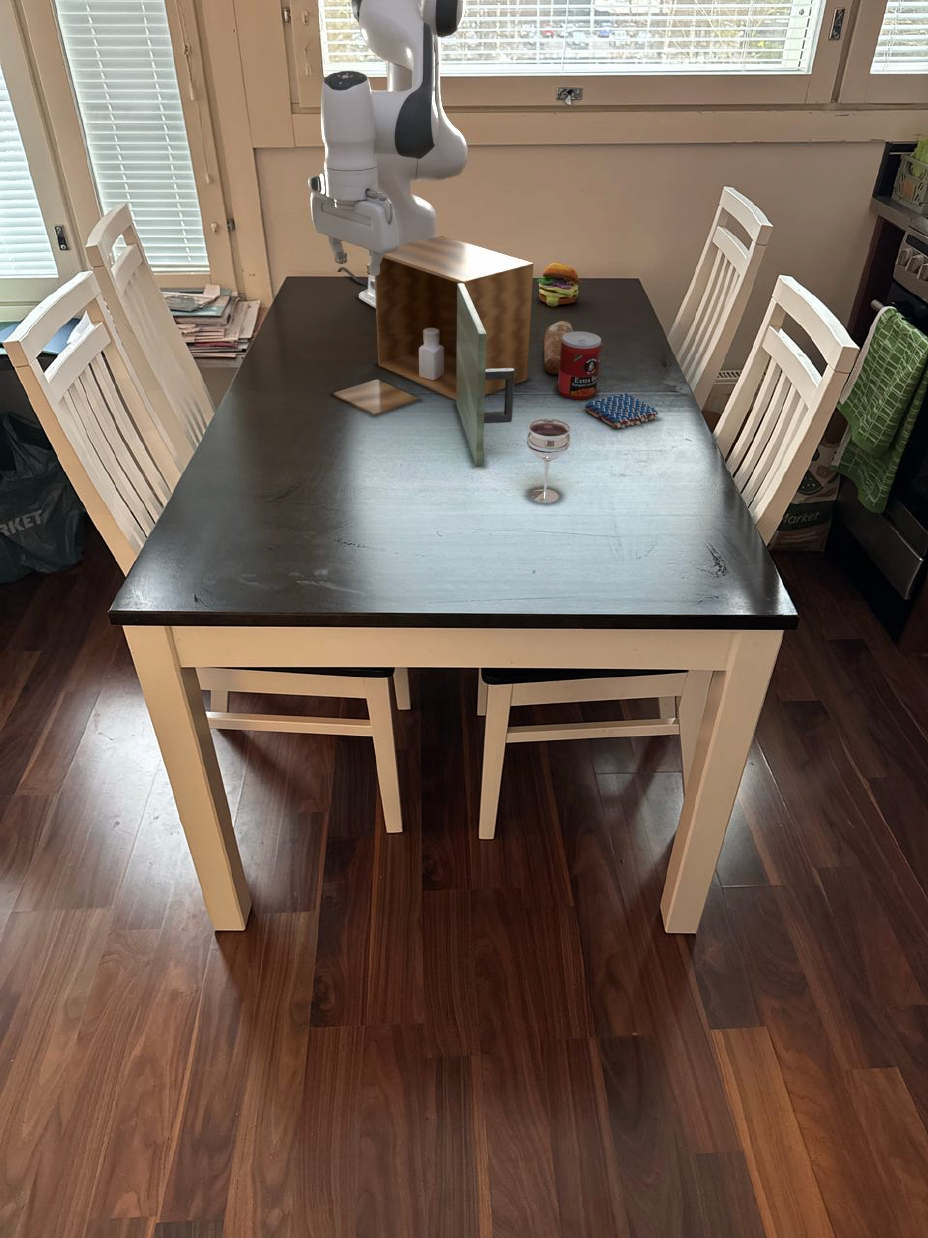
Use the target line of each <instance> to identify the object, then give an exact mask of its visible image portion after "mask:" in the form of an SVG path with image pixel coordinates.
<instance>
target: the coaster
mask: <svg viewBox="0 0 928 1238" xmlns="http://www.w3.org/2000/svg"><path fill="white" fill-rule="evenodd" d="M333 396H334V397H336V398H338V399H340V400H342V401H343V402H346V403H348V404H350V405H352V406H354V407H356V408H358V409H360V410H362V411H364V412H366V413H368V414H369V415H372V416H374V417H375V416H378V415H381V414H383V413H387V412H390V411H393V410H395V409H398V408H402V407H404V406H407V405H410V404H412V403H415V402H418V401H420V399H419V398H420V397H417V396H414V395H412V394H410V393H408V392H405V391H404V390H401V389H399V388H397V387H395V386H393V385H391V384H388V383H387V382H384V381H382V380H380V379H378V378H376V379H373V380H370V381H366V382H364V383H360V384H357V385H354V386H350V387H348V388H345V389H342V390H339V391H336V392H333Z"/></svg>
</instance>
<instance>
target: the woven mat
mask: <svg viewBox="0 0 928 1238" xmlns="http://www.w3.org/2000/svg"><path fill="white" fill-rule="evenodd" d="M584 408H585V410H586V411H587V413H589V414H590V415H592V416H594V417H595V418H600V419H601V420H602V421H603V422H604V423H605V424H608V425H609V426H611V427H613V428H617V429H620V428H622V429H625V428H626V427H627V426H630V425H631V426H634V425H637V426H640V425H641V423H642V422H645V423H648V421H649V420H650V421H651V420H655V421H656V420H658V416H657V415H659V412H658V410H656V409H655V407H651V406H650V405H649V404H646V403H644V401H640V400H639V399H638V398H635V397H634V396H633V395H628V392H625V393H619V394H616V395H612V396H608V397H607V398H606V397H605V398H603V397H602V398H600V399H596V400H592V401H591V400H590V401H589V402H588V403H585V405H584Z"/></svg>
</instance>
